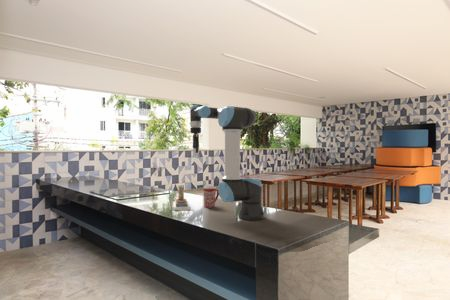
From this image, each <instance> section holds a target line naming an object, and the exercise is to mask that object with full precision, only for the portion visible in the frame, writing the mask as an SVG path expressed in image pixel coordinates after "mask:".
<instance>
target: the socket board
mask: <svg viewBox="0 0 450 300" xmlns="http://www.w3.org/2000/svg"><path fill="white" fill-rule="evenodd" d="M172 207H173V208H172V209H173V211H191V204H190V202H189V200H187V198H184V200H183V201H178V198H176V199H175V201H172Z"/></svg>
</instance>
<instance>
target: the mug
mask: <svg viewBox="0 0 450 300" xmlns="http://www.w3.org/2000/svg"><path fill="white" fill-rule="evenodd" d="M202 189H203V205H204V208H208V209H211V208H215V206H216V202H217V200H218V198H219V197H220V196H219V193H218V188H217V187H215V186H204V187H203V188H202Z"/></svg>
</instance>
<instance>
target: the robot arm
mask: <svg viewBox="0 0 450 300" xmlns="http://www.w3.org/2000/svg"><path fill="white" fill-rule="evenodd" d="M189 108H190V109H189V110H190V111H189V113H190V116H189V118H190V122H189V125H190V126H189V127H190V129H189V130H190V133H191V134H192V158H195V159H196V158H200V140H199V139H200V135H199V134H201V133H202V119H215V120H217V121H218V125H219V126H220V127H222V129H221V130H222V132H224V175H223V176H222V179H221V181H220V182H219V183H218V186H217V189H218V193H219V196H218V197H220V200H221V201H223V202H225V203H234V202H241V205H240V209H239V213H238V218H239V219H241V220H246V221H260V220H264V219H265V212H264V208H263V206H262V188H263V186H262V181H261V180H260V179H257V178H249V177H242V176H241V170H240V169H241V168H240V167H241V161H240V160H241V133H242V132H243V130H244V129H245V128H250V127H252V126H253V125H254V124H255V122H256V119H257V117H256V113H255V112H254V110H253V109H251V108H248V107H240V106H224V107H222V108H221V107H209V106H207V105H202V106H201V105H199V104H198V105H197V104H194V105H193V104H192V105H191V106H190V107H189ZM243 128H244V129H243Z"/></svg>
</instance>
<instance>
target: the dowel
mask: <svg viewBox="0 0 450 300" xmlns="http://www.w3.org/2000/svg"><path fill="white" fill-rule="evenodd" d="M177 187H178V188H177V191H178V192H177V194H178V195H177V197H178V198H177V199H178V201H183V200H184V199H185V198H184V197H185V195H184V194H185V192H184V191H185V190H184V189H185V188H184V185H178V186H177Z"/></svg>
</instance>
